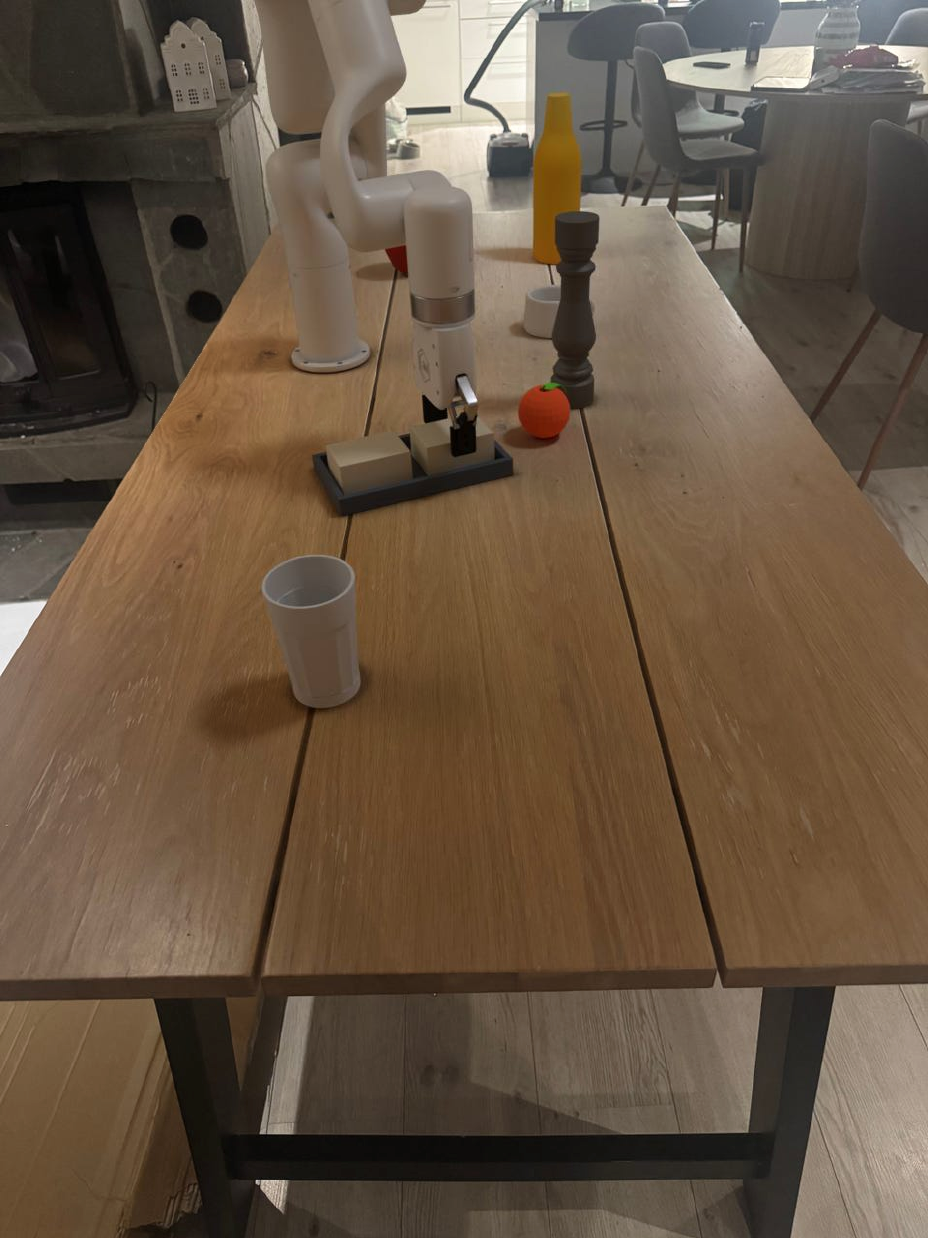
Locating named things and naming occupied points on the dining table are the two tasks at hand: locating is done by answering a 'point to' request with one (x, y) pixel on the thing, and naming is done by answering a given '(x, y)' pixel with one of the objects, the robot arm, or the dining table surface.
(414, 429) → the beige rectangular block
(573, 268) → the candle holder
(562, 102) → the beer bottle
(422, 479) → the dark grey flat tray
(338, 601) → the cup
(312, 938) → the dining table surface
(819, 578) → the dining table surface
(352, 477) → the block
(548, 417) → the clementine
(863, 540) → the dining table surface
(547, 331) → the mug
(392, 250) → the apple
